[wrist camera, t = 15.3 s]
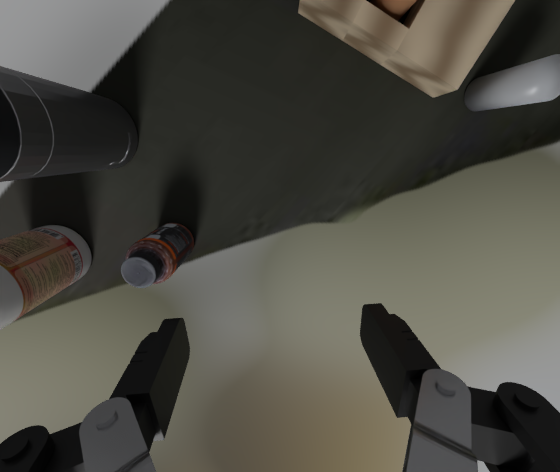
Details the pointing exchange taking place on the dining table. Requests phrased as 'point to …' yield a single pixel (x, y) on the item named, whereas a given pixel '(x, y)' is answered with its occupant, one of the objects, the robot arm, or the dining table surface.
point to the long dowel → (393, 7)
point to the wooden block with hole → (415, 36)
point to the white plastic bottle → (38, 268)
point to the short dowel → (516, 85)
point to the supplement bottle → (157, 255)
